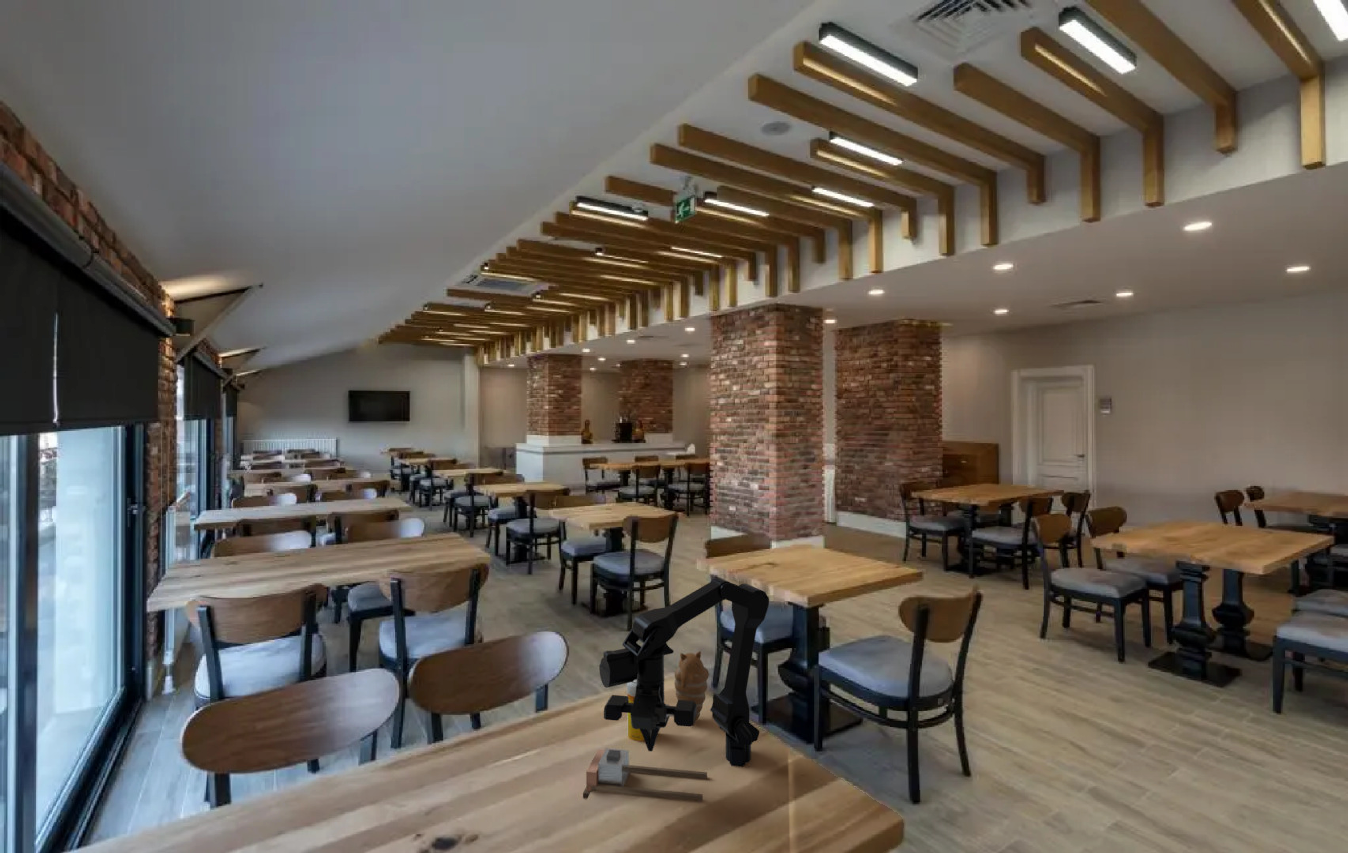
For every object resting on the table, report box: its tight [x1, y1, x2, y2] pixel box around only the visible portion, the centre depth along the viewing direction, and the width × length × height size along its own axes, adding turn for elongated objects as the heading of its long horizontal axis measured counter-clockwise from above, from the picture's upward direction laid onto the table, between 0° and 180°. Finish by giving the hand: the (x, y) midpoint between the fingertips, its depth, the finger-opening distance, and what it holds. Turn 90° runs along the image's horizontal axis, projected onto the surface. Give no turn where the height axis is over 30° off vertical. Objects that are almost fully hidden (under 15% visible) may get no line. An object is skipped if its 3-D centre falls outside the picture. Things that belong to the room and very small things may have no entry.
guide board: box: [582, 749, 708, 803], centre depth 131 cm, size 10×25×5 cm, turn 80°
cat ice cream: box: [674, 650, 710, 722], centre depth 158 cm, size 9×8×18 cm
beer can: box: [626, 679, 652, 742], centre depth 150 cm, size 6×6×15 cm
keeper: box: [598, 748, 630, 787], centre depth 132 cm, size 6×5×6 cm
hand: (650, 750), depth 130 cm, fingers closed
